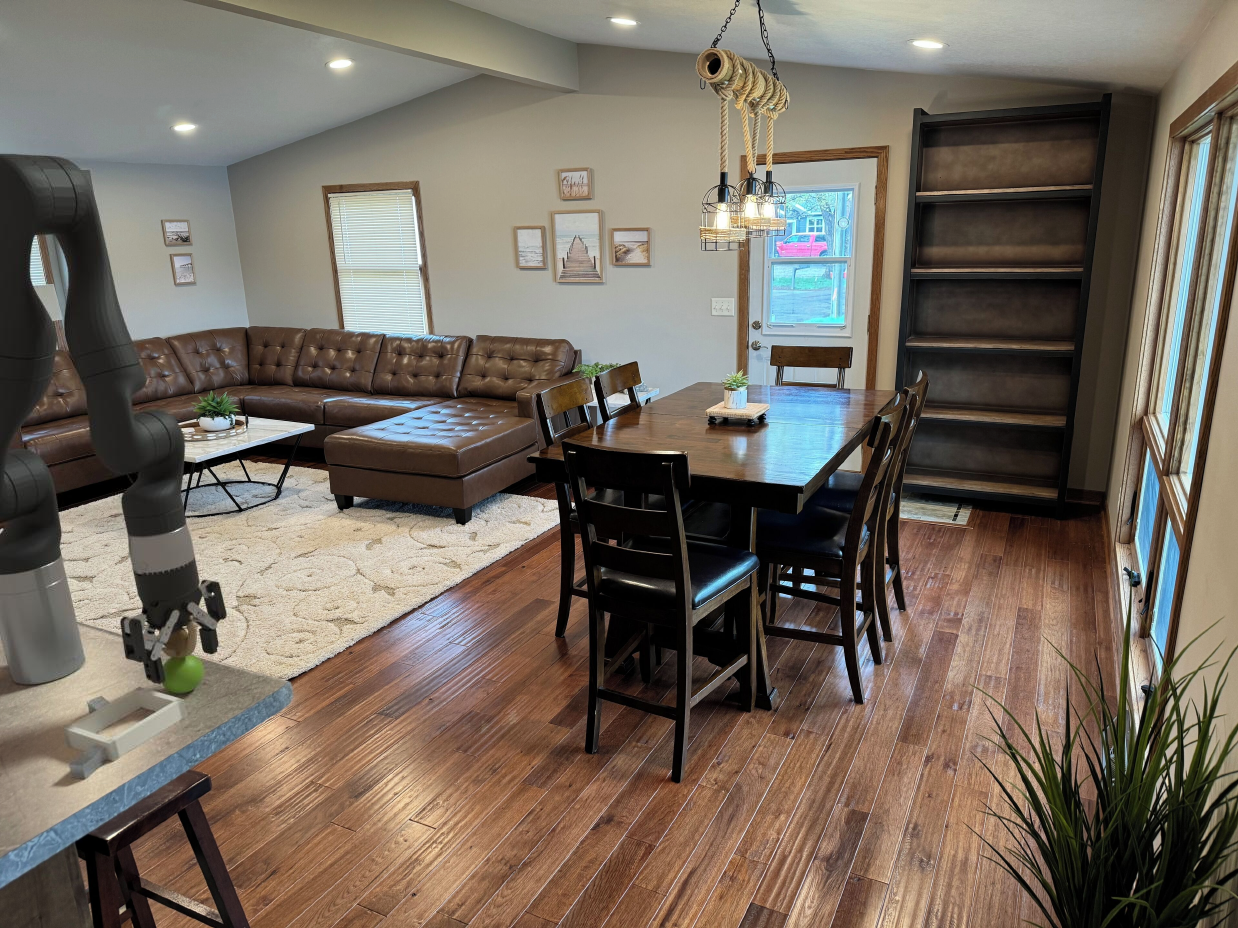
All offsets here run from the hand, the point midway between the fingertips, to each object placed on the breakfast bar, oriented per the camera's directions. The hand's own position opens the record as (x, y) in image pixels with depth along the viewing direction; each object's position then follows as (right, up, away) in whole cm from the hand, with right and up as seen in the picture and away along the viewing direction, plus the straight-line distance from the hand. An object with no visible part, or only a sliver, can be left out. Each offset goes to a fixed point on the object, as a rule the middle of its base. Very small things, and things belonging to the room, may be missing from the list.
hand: (185, 666), depth 119 cm
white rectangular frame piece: (-6, -7, -9) cm, 13 cm away
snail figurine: (0, -4, +1) cm, 4 cm away
